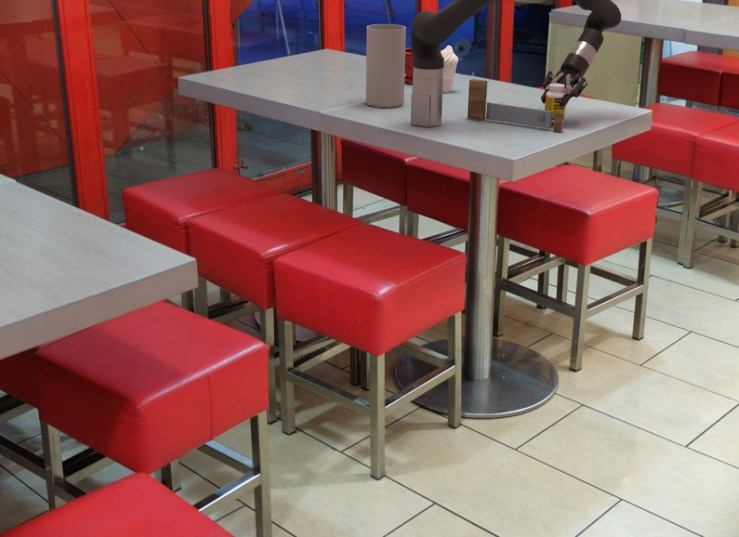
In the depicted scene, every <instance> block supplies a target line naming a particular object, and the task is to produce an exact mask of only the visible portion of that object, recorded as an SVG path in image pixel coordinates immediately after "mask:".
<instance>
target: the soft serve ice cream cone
mask: <svg viewBox="0 0 739 537" xmlns="http://www.w3.org/2000/svg"><path fill="white" fill-rule="evenodd" d="M440 51H441V54H442V56H443V58H444V77H443V94H445V93H446V94H449V93H451V92H452V89H453V86H454V83H455V82H454V81H455V78H456V70H457V65H458V63H459V57H458V56H457V55H456V54H455V53H454V49H453V46H451V45H447V46H446V47H445V48H444V49H442V50H440Z"/></svg>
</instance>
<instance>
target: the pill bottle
mask: <svg viewBox="0 0 739 537" xmlns="http://www.w3.org/2000/svg"><path fill="white" fill-rule="evenodd" d="M549 90H550V91H548V92H547V93H546V100H545V103H544V110H546V111H552V121H551V124H552V123H553V124H554V115H555V113H556V112H562V113H564V114H563V122H564V121H565V116H566V115H565V114H566V106H564V107H560V105H559V102H560V100H561V99H562V97H563V95H564V94H566V91H565V90H566V88H565V85H563V84H557V82H556V83H554V84H549ZM564 91H565V92H564Z"/></svg>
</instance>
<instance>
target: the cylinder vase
mask: <svg viewBox="0 0 739 537" xmlns="http://www.w3.org/2000/svg"><path fill="white" fill-rule="evenodd" d="M406 29H407V27H406V26H404V25H401V24H393V23H377V24H369V25H366V56H365V57H366V58H365V59H366V62H365V63H366V65H365V68H366V70H365V72H366V73H365V74H366V75H365V103H366V104H367V105H368V106H369V107H373V108H381V109H393V108H399V107H401V106H403V105H404V103H405V80H404V77H405V76H406V75H405V49H406V36H407V35H406V34H407V31H406Z"/></svg>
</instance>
